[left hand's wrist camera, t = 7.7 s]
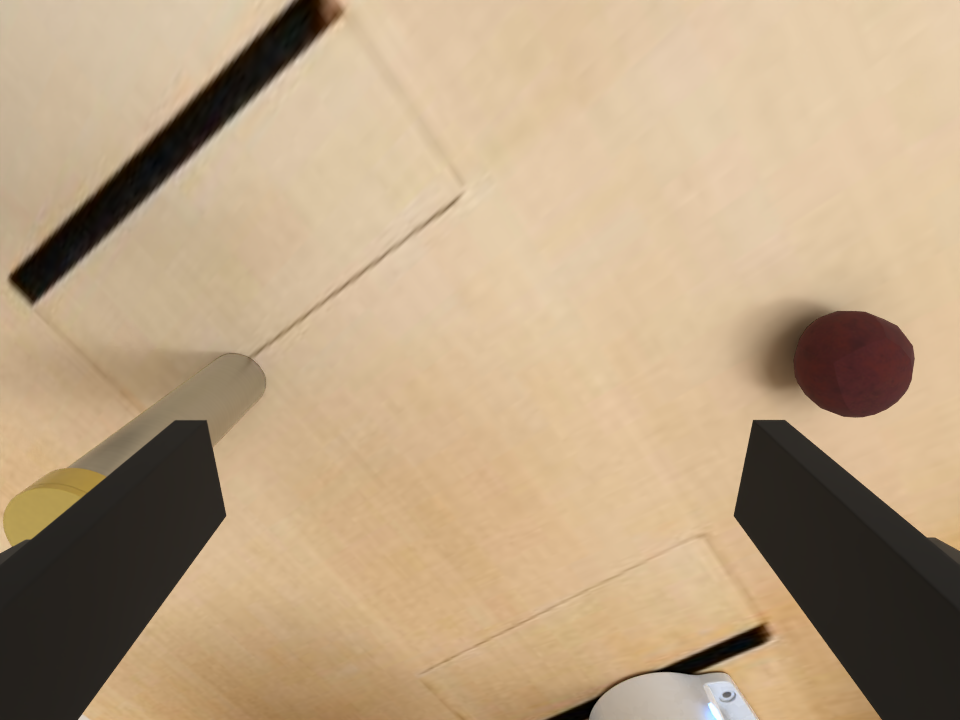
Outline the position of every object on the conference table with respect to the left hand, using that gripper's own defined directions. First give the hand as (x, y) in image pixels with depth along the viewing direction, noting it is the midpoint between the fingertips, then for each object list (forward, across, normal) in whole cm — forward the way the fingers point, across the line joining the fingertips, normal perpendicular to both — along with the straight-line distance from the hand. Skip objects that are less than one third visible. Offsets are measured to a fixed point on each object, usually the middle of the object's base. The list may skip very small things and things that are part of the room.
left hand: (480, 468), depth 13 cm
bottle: (+28, -20, -9) cm, 35 cm away
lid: (+9, -20, -9) cm, 24 cm away
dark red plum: (+28, +27, -6) cm, 39 cm away
